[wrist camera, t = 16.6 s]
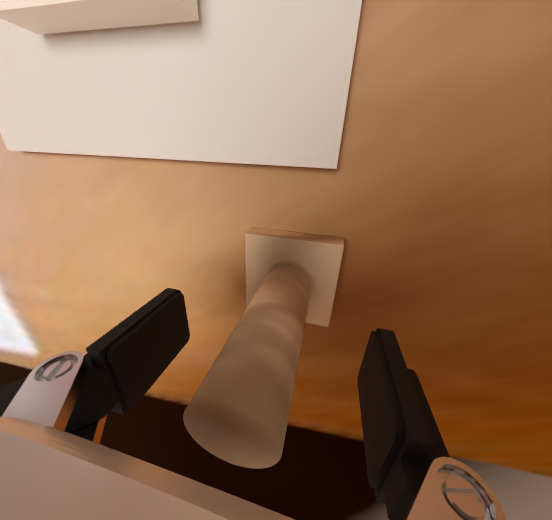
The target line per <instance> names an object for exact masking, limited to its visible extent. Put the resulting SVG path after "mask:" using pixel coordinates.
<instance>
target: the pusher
mask: <svg viewBox="0 0 552 520" xmlns="http://www.w3.org/2000/svg"><path fill="white" fill-rule="evenodd" d="M343 249H344V240H343V238H342V237H334V236H325V235H316V234H308V233H299V232H291V231H282V230H273V229H265V228H256V227H252V228H251V229H250V230H249V231H247V232H246V233H245V267H246V310H245V312H244V313H243V315H242V317H241V318H240V320H239V322H238V323H237V325H236V327H235V328H234V330H233V332H232V333H231V335H230V337H229V338H228V340H227V342H226V343H225V345H224V347H223V348H222V350H221V352H220V353H219V355H218V356H217V358H216V360H215V361H214V363H213V365H212V366H211V368H210V370H209V371H208V373H207V375H206V376H205V378H204V380H203V381H202V383H201V385H200V386H199V388H198V390H197V391H196V393H195V395H194V396H193V398H192V400H191V401H190V403H189V405H188V406H187V408H186V410H185V412H184V417H183V418H184V423H185V426H186V428H187V430H188V432H189V433H190V435H191V436H192V437H193V438H194V440H195V441H197V442H198V444H200V445H201V446H202V447H203V448H204V449H206V450H207V451H208V452H210V453H212V454H213V455H215V456H217V457H219V458H220V459H222V460H225V461H227V462H229V463H232V464H235V465H238V466H243V467H247V468H266V467H270V466H272V465H274V464H276V463H277V462H278V461H279V460H280V458H281V455H282V450H283V444H284V439H285V434H286V428H287V422H288V417H289V411H290V405H291V400H292V394H293V389H294V383H295V377H296V372H297V366H298V360H299V355H300V349H301V344H302V338H303V332H304V327H305V323H309V324H315V325H320V326H325V327H329V322H330V317H331V312H332V307H333V301H334V296H335V291H336V286H337V281H338V275H339V270H340V265H341V260H342V254H343Z"/></svg>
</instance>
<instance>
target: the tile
mask: <svg viewBox="0 0 552 520" xmlns="http://www.w3.org/2000/svg"><path fill="white" fill-rule="evenodd" d="M0 18H1V19H3V20H5V21H8V22H10V23H12V24H15V25H17V26H19V27H21V28H24V29H26V30H28V31H31V32H33V33H35V34H37V35H39V34H51V33H62V32H74V31H85V30H97V29H108V28H120V27H132V26H143V25H155V24H166V23H178V22H189V21H199V18H198V4H197V0H0Z"/></svg>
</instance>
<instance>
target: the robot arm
mask: <svg viewBox="0 0 552 520" xmlns="http://www.w3.org/2000/svg"><path fill="white" fill-rule="evenodd" d="M189 337H190V333H189V327H188V320H187V314H186V307H185V301H184V295H183V294H182V293H181V291H180V290H176V289H171V288H167V289H165V290H164V291H163V292H161V293H160V294H159V295H157V296H156V297H154V298H153V299H152V300H150V301H149V302H148V303H146V304H145V305H144V306H142V307H141V308H140V309H138V310H137V311H136V312H134V313H133V314H132V315H130V316H129V317H128V318H126V319H125V320H124V321H122V322H121V323H119V324H118V325H117V326H115V327H114V328H113V329H111V330H110V331H109V332H107V333H106V334H105V335H103V336H102V337H101V338H99V339H98V340H97V341H95V342H94V343H93V344H91V345H90V346H89V347H87V348H86V350H87V352H88V353H87V354H86V355H85V356H83V355H82V353H80V352H78V351H68V352H63V353H60V354H57V355H55V356H52V357H50V358H48V359H47V360H45V361H43V362H42V363H40V364H39V365H38V366H37V367H35V368H34V369H33V371H32V372H31V373H30V374H29V376H28V377H27V378H25V379H22V380H19V381H16V382H12V383H9V384H6V385H3V386H0V520H294V519H292V518H289V517H287V516H284V515H281V514H279V513H276V512H274V511H271V510H269V509H266V508H264V507H261V506H258V505H256V504H253V503H251V502H248V501H246V500H243V499H241V498H238V497H235V496H233V495H230V494H228V493H225V492H223V491H220V490H217V489H215V488H212V487H210V486H207V485H204V484H202V483H199V482H197V481H194V480H191V479H189V478H186V477H184V476H181V475H178V474H176V473H173V472H171V471H168V470H165V469H163V468H160V467H158V466H155V465H152V464H150V463H147V462H145V461H142V460H139V459H137V458H134V457H131V456H129V455H126V454H123V453H120V452H118V451H115V450H113V449H110V448H107V447H105V446H102V445H99V443H100V439H101V436H102V432H103V428H104V424H105V420H106V416H107V414H108V413H109V412H110V410H111V409H112V410H113V412H117V413H119V414H122V415H125V413H126V412H127V411H128V410H129V409H130V407H134V406H135V405H136V404H137V403H138V402H139V400H140V399H141V398H142V397H143V396H144V394H145V393H146V392H147V391H148V390H149V388H150V387H151V386H152V385H153V383H154V382H155V381H156V380H157V379H158V377H159V376H160V375H161V374H162V373H163V371H164V370H165V369H166V368H167V366H168V365H169V364H170V363H171V362H172V360H173V359H174V358H175V357H176V356H177V354H178V353H179V352H180V351H181V349H182V348H183V347H184V346H185V345H186V343H187V342H188V340H189ZM358 390H359V399H360V408H361V418H362V427H363V436H364V444H365V454H366V463H367V472H368V481H369V484H370V487H373V488H375V493H376V501H377V502H380V503H383V504H386V508H387V514H388V518H389V520H506V519H505V516H504V513H503V510H502V508H501V505H500V503H499V502H498V500H497V498H496V497H495V495H494V493H493V492H492V490H491V489H490V488H489V487H488V485H487V484H486V483H485V482H484V480H483V479H481V478H480V477H479V476H478V475H477V474H476V473H475V472H474V471H473V470H472V469H470V468H469V467H467V466H466V465H464V464H463V463H462V462H460V461H457V460H455V459H453V458H450V457H449V455H448V452H447V450H446V447H445V445H444V442H443V440H442V437H441V434H440V432H439V429H438V427H437V424H436V422H435V419H434V417H433V414H432V412H431V409H430V407H429V404H428V402H427V399H426V397H425V394H424V391H423V389H422V386H421V384H420V381H419V379H418V376H417V374H416V372H415V371H414V370H411V369H407V367H406V364H405V361H404V359H403V356H402V353H401V350H400V348H399V345H398V342H397V339H396V336H395V334H394V332H393V331H390V330H385V329H380V328H378V329H377V330H376V331H372V332H371V335H370V338H369V341H368V344H367V348H366V351H365V354H364V358H363V361H362V364H361V368H360V371H359V374H358Z"/></svg>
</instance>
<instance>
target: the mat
mask: <svg viewBox="0 0 552 520" xmlns="http://www.w3.org/2000/svg"><path fill="white" fill-rule="evenodd" d="M197 4H198V18H199V21H189V22H178V23H166V24H155V25H143V26H132V27H120V28H108V29H97V30H85V31H74V32H62V33H51V34H39V35H37V34H35V33H33V32H31V31H28V30H26V29H24V28H21V27H19V26H17V25H15V24H12V23H10V22H8V21H5V20H3V19H1V18H0V133H1V135H2V138H3V140H4V142H5V145H6V147H7V150H11V151H29V152H47V153H65V154H82V155H100V156H118V157H136V158H153V159H171V160H189V161H207V162H224V163H242V164H260V165H278V166H295V167H313V168H331V169H337V163H338V156H339V150H340V143H341V137H342V130H343V124H344V117H345V110H346V104H347V97H348V91H349V84H350V77H351V71H352V64H353V58H354V51H355V45H356V38H357V31H358V25H359V18H360V12H361V5H362V0H197Z"/></svg>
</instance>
